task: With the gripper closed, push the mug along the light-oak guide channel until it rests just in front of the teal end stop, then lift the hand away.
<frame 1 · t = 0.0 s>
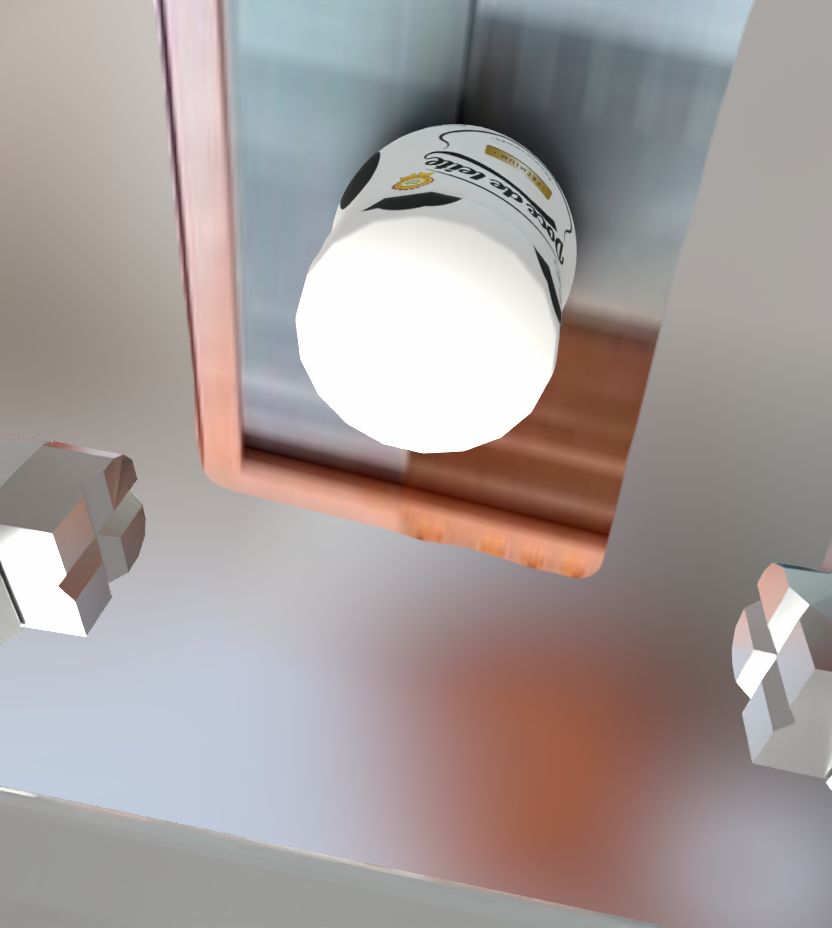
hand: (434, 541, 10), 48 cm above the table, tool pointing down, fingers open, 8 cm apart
milk container: (460, 233, 56), on the table
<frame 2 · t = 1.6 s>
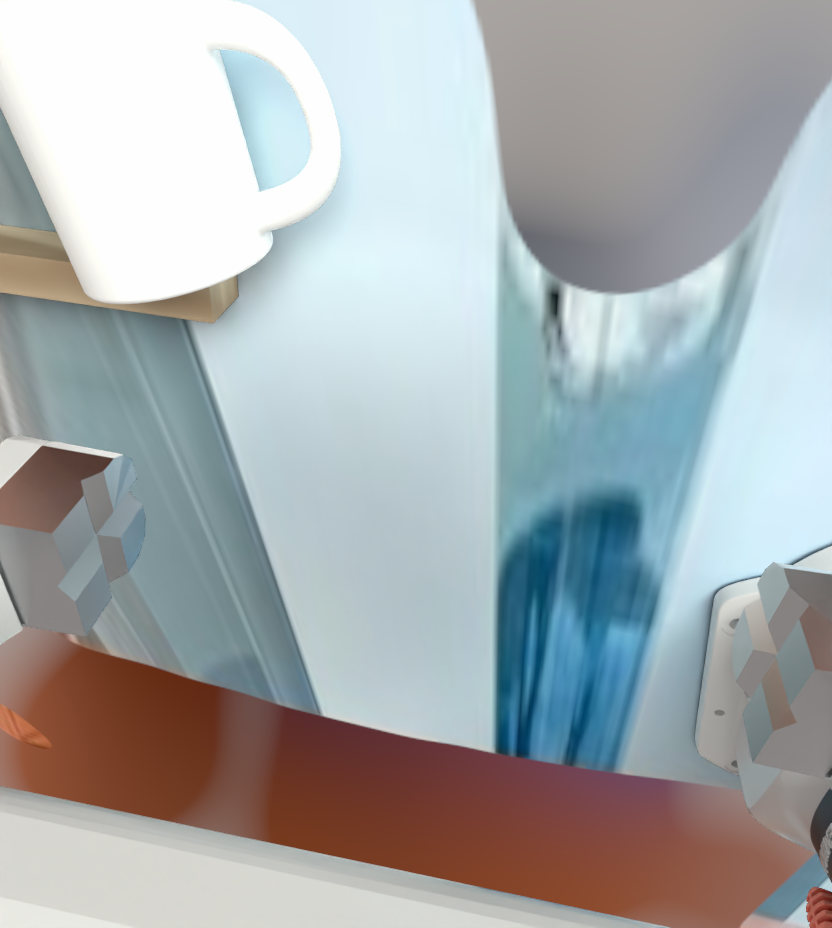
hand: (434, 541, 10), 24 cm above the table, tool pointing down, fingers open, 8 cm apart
guide channel: (24, 96, 32), on the table
mug: (226, 109, 31), on the table
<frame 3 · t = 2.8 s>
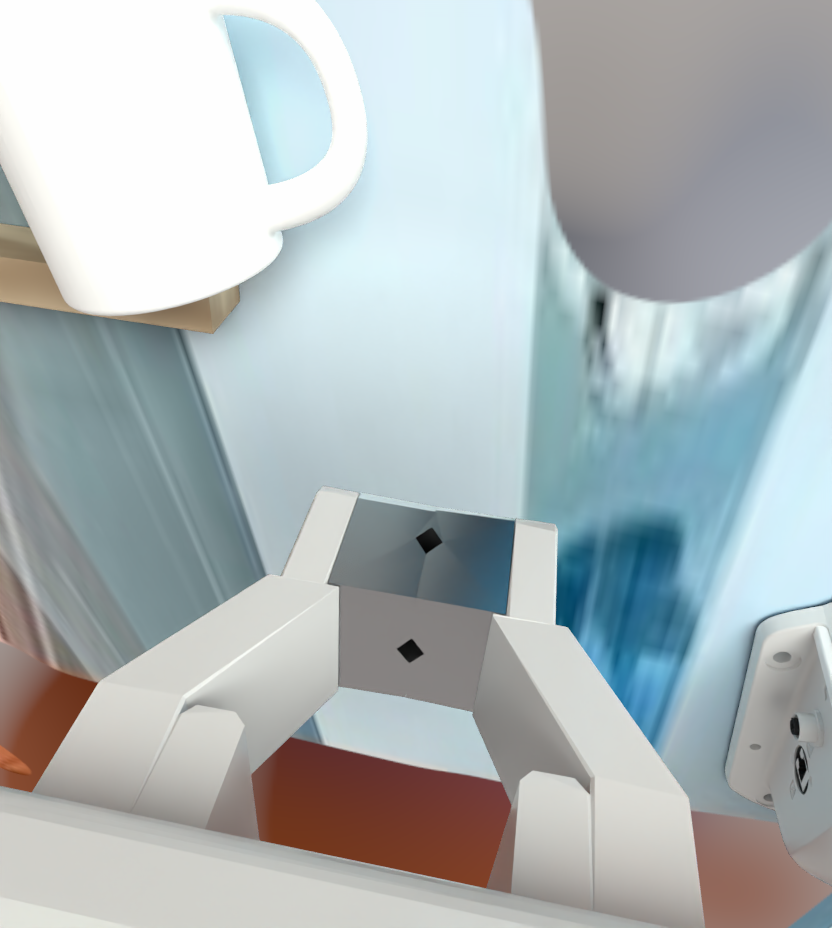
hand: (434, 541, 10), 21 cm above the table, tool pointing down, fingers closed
mug: (228, 88, 27), on the table
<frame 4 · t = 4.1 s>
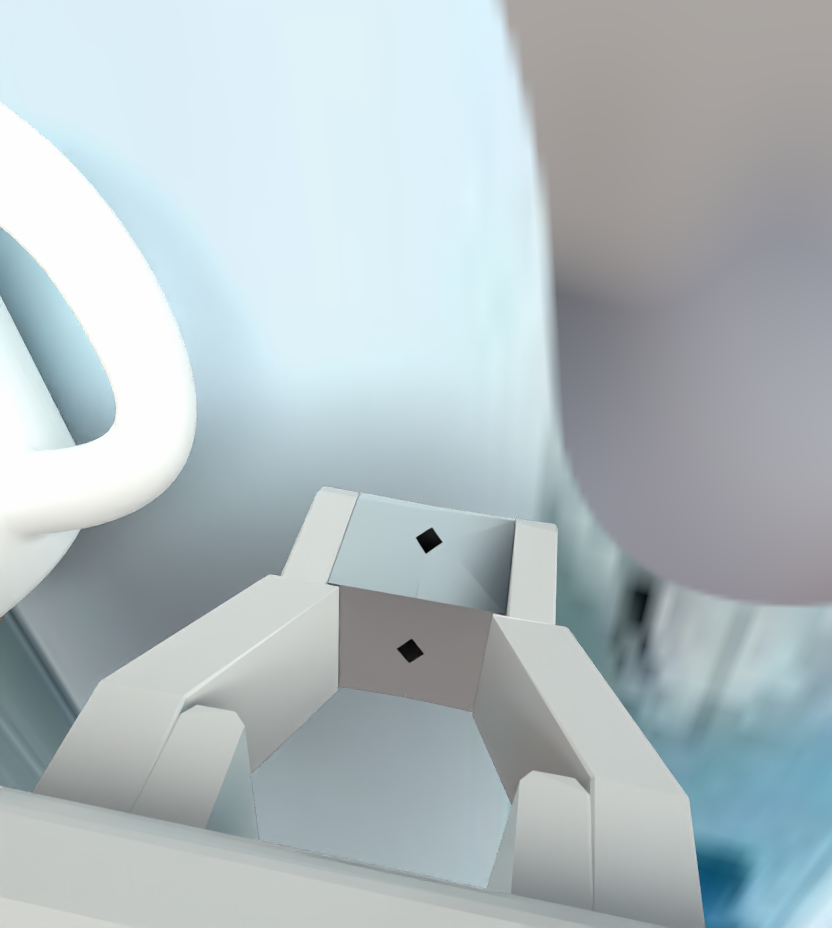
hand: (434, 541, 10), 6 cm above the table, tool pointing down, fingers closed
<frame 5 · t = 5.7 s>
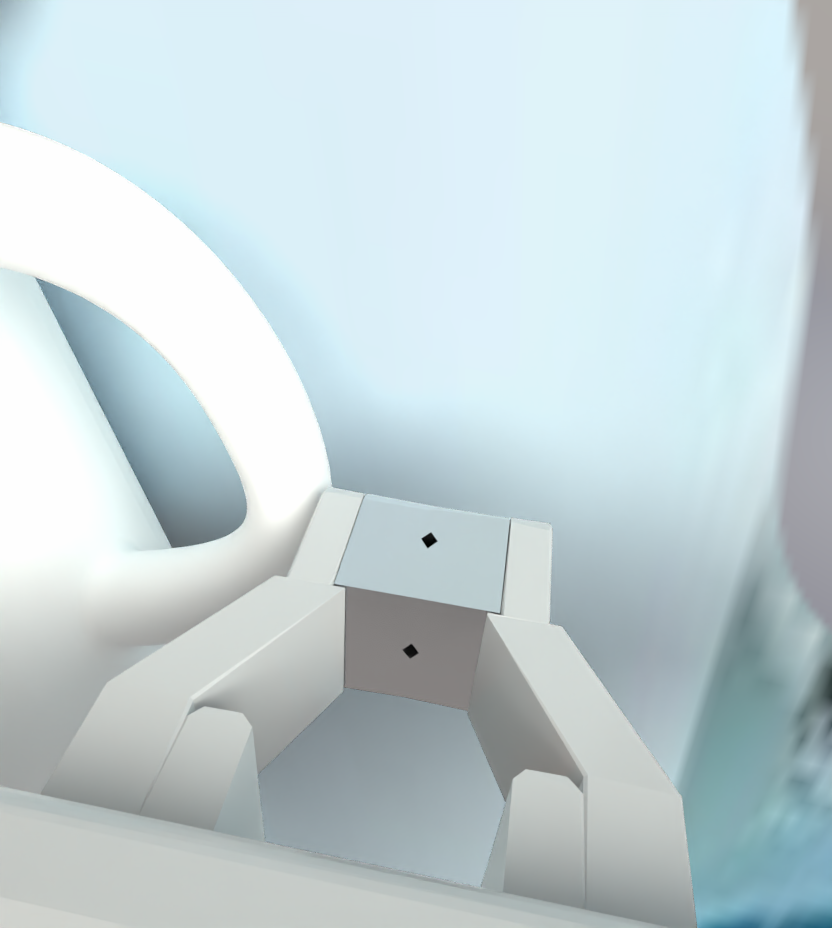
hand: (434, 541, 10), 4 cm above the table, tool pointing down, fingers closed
mug: (67, 306, 14), on the table, touching gripper
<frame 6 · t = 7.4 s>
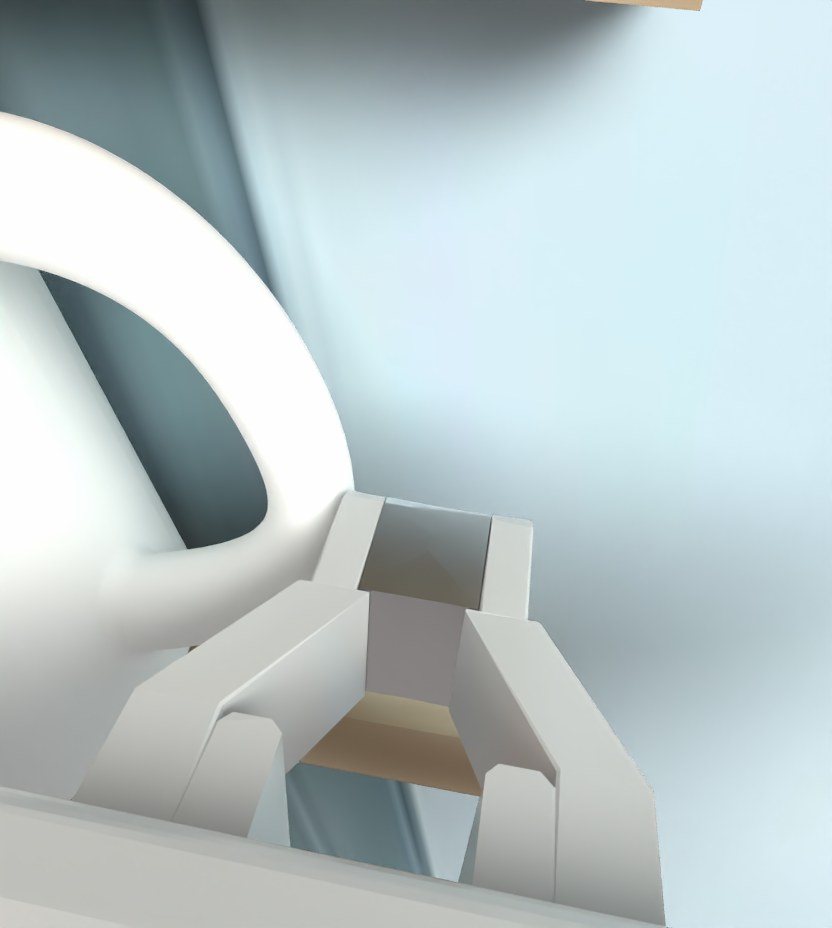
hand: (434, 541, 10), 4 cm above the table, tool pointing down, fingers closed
guide channel: (70, 327, 13), on the table
mug: (75, 308, 13), on the table, touching gripper, guide channel
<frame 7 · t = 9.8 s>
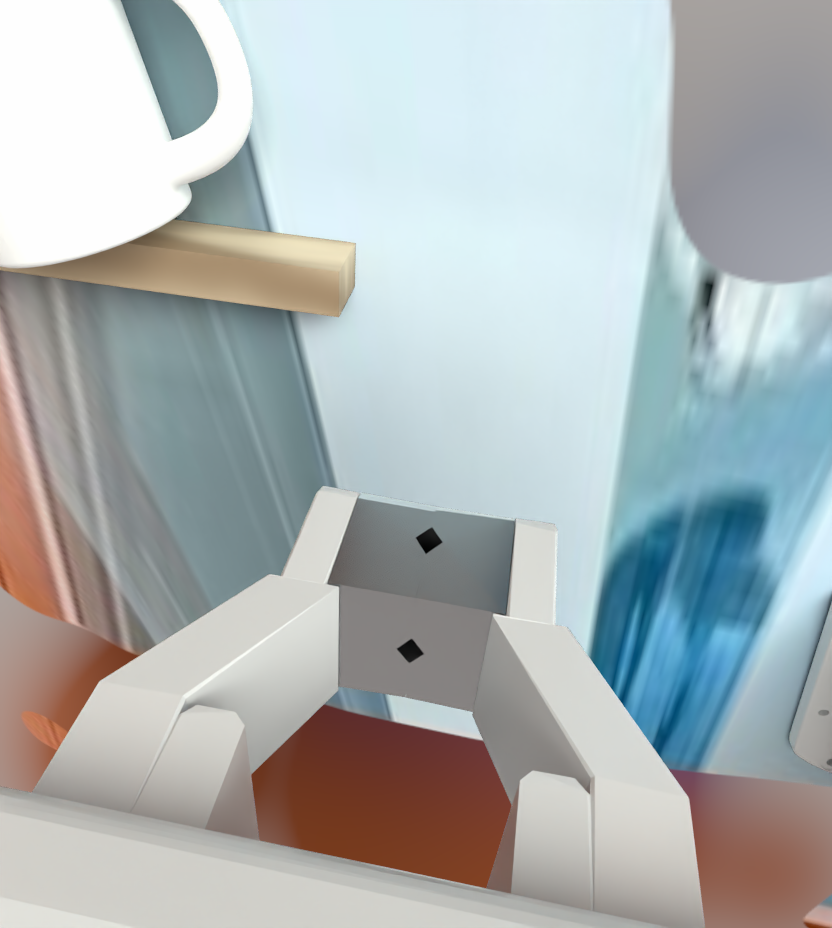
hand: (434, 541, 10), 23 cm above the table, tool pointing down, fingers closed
guide channel: (131, 64, 29), on the table
mug: (134, 56, 29), on the table
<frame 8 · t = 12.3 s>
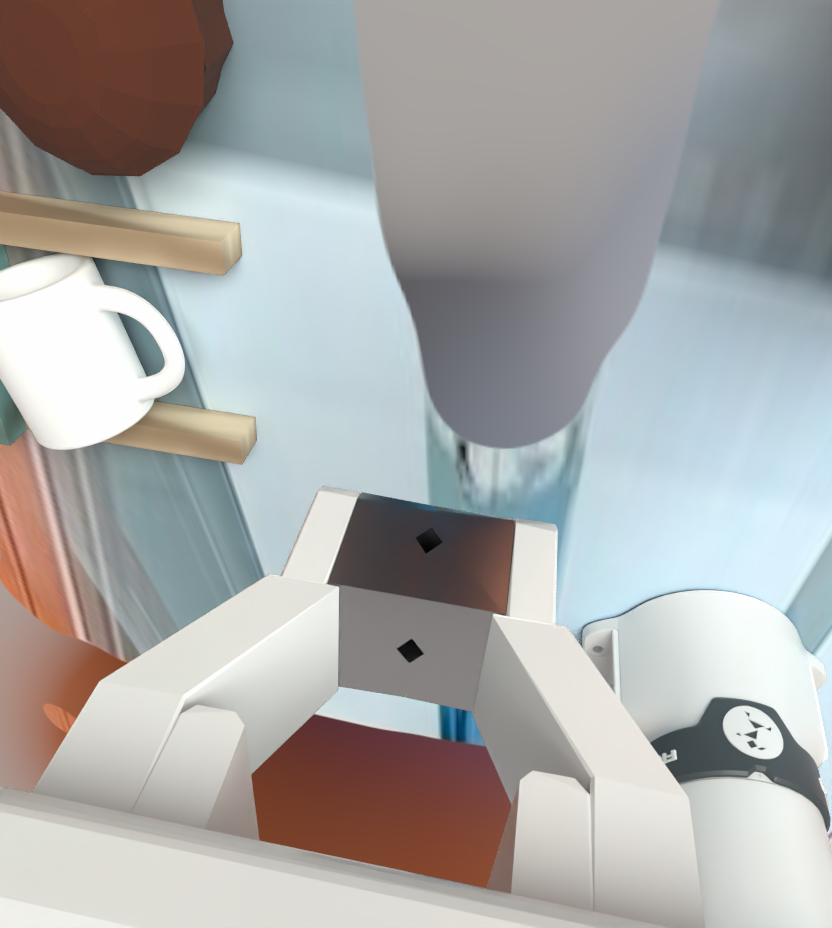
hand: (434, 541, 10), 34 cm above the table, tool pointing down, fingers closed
guide channel: (119, 323, 50), on the table
muffin: (151, 21, 38), on the table
mug: (122, 318, 50), on the table
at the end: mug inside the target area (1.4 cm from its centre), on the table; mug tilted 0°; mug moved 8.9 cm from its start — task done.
